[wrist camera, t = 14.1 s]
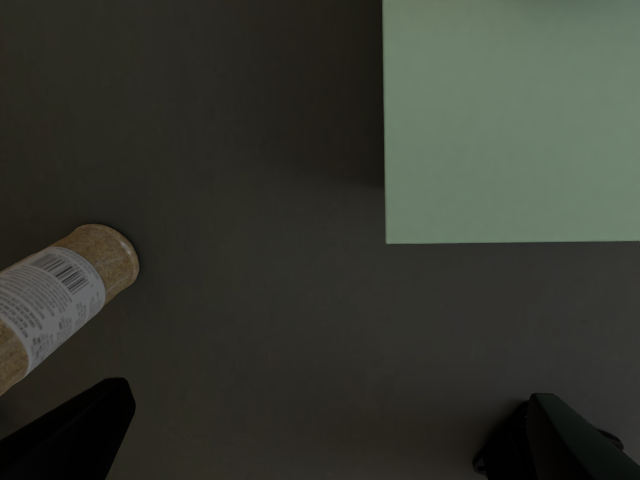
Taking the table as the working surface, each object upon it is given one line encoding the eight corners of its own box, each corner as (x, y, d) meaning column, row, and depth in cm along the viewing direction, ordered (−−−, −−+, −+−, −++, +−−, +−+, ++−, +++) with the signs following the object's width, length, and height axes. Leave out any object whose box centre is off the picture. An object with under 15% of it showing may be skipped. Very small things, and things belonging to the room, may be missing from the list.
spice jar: (58, 243, 24) (-268, 425, 12) (105, 207, 23) (-216, 374, 11) (110, 299, 25) (-139, 515, 13) (158, 268, 24) (-75, 481, 12)
